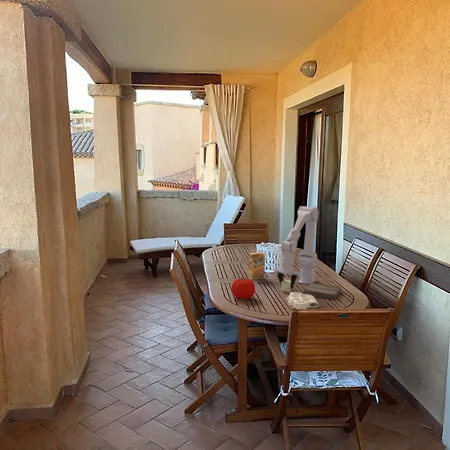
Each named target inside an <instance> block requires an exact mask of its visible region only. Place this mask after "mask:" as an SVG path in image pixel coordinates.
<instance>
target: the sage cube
mask: <svg viewBox="0 0 450 450" xmlns="http://www.w3.org/2000/svg"><path fill="white" fill-rule="evenodd" d="M293 289H294V288H293ZM293 289H291V279H290V280H289V279H283V281H282V282H281V286H280V291H281V292H286V293H291V292H293Z"/></svg>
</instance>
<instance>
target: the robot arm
mask: <svg viewBox="0 0 450 450" xmlns="http://www.w3.org/2000/svg"><path fill="white" fill-rule="evenodd" d="M318 218H319V210H318V208H317V207H315V206H303V205H300V206H299V208H298V210H297V219H296V222H295V225H294V227H293V228H291V229H290V231H289V233H288V234H287V237H286V238H285V240H284V241H282V243H281V245H280V249H281V254H282V264H281V265H282V267H281V269H280V268H275V269H273V273H274V274H276V277H277V279H278V281H279V285H280V287H281V282H282V281H283V280H284V279H285V278H284V277H285V275H286V276H287V275H288V276H290V281H291V289H294V285H295V282H296V280H297V278H298V277H300V278H299V279H300V280H298V281H297V283H299V284H304V285H310V284H311V283H316V281H317V280H316V279H315V268H316V267H317V265H318V254H317V253H316V252H315V251H314V242H315V232H316V222H318ZM305 224H306V225H305ZM304 225H305V233H304V244H303V250H301V251H300V252H299V255H298V258H297V263H298V265H299V267H300V271H296V270H294V262H295V261H294V260H295V259H294V258H295V251H296V250H297V248H298V247H297V246H298V241H299V238H300V237H301V230H302V228H303V227H304Z"/></svg>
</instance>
